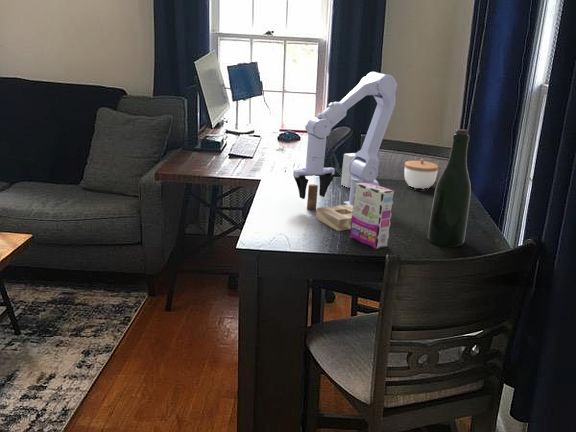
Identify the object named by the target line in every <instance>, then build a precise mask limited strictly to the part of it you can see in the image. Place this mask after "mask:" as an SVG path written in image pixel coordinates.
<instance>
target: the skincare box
mask: <svg viewBox="0 0 576 432" xmlns="http://www.w3.org/2000/svg"><path fill="white" fill-rule="evenodd" d="M356 153H357V152H351V153H350V152H349V153H343V161H342V169H341V170H342V172H341V179H340V180H341V181H340V185H341V186H342V185H343V186H342V187H344V186H345V188H346V187H347V188H348V189H349V188H351V173H350V172H349V163H350V162H351V160H352V159H353V158H354V156H355V154H356ZM347 188H346V189H347Z"/></svg>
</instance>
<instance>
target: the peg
mask: <svg viewBox="0 0 576 432" xmlns="http://www.w3.org/2000/svg"><path fill="white" fill-rule="evenodd" d="M307 187H308V189H307V190H308V191H307V202H306V203H307V204H306V210H307V211H311V212H312V211H313V212H314V211H317V203H318V201H317V200H318V192H319V185H318V184H313V183H310V184H308V186H307Z"/></svg>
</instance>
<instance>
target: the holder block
mask: <svg viewBox="0 0 576 432" xmlns="http://www.w3.org/2000/svg"><path fill="white" fill-rule="evenodd" d="M352 211H353V206H351V205H349V204H338V205H332V206H324V207H323V206H322V207H316V216H315V219H316V220H317V221H320V222H322V223H323V224H325V225H327V226H329V227H330V228H332V229H334V230H336V231H337V232H339V231H345V230H351V221H352Z"/></svg>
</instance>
